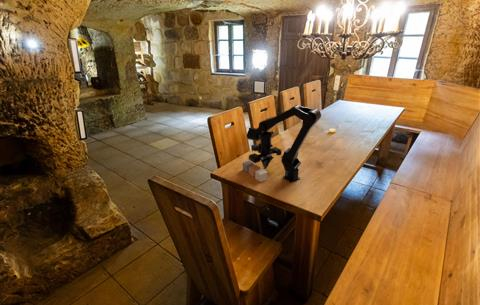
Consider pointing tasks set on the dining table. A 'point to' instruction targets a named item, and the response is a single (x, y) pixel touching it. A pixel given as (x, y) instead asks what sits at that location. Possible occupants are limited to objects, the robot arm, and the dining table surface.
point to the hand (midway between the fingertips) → (265, 168)
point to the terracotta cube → (253, 170)
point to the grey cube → (247, 165)
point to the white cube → (261, 175)
